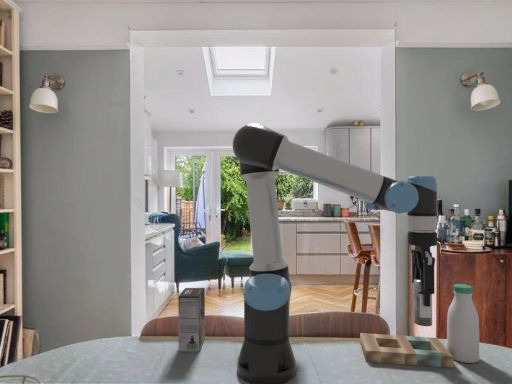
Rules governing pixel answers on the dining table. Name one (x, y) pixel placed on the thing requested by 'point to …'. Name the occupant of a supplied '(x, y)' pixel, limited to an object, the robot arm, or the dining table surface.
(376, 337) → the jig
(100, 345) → the dining table surface
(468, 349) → the milk bottle
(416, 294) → the bushing
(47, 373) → the dining table surface
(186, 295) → the coffee box
